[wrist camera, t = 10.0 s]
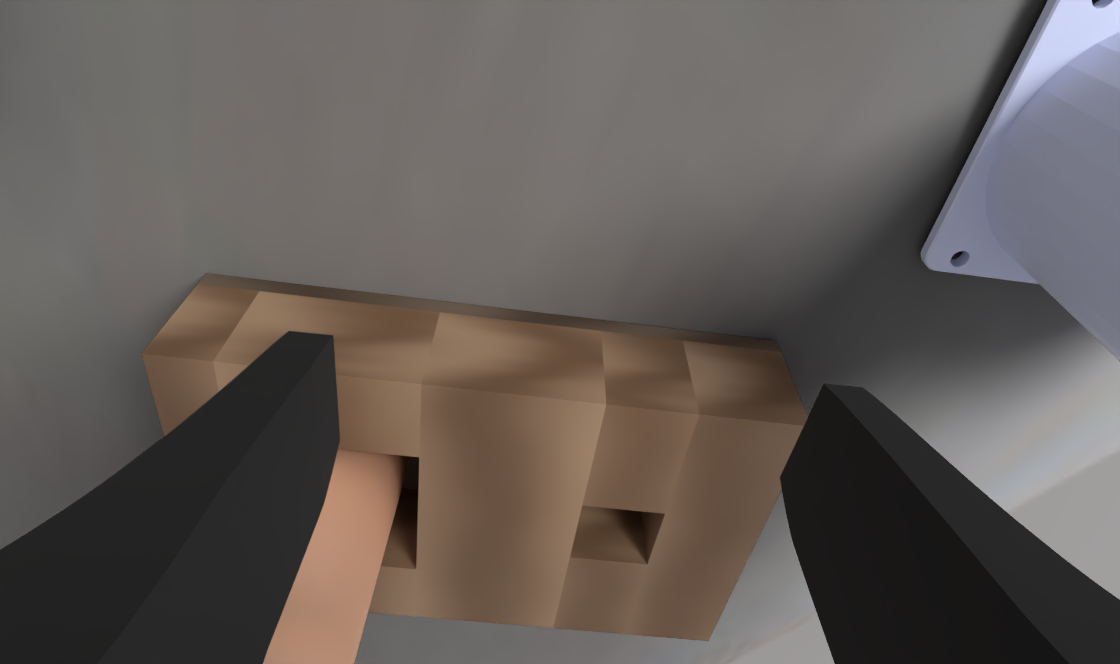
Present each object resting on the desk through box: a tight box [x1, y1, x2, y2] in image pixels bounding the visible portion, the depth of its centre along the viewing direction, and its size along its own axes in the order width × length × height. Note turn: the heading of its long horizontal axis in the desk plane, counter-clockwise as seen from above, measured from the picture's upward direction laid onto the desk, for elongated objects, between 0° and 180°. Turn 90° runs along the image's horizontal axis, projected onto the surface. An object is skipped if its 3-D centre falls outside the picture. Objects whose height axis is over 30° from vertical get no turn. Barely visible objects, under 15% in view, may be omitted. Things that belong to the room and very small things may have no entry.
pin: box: [263, 449, 411, 664], centre depth 21 cm, size 4×4×8 cm
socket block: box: [142, 273, 808, 641], centre depth 23 cm, size 18×11×4 cm, turn 82°
